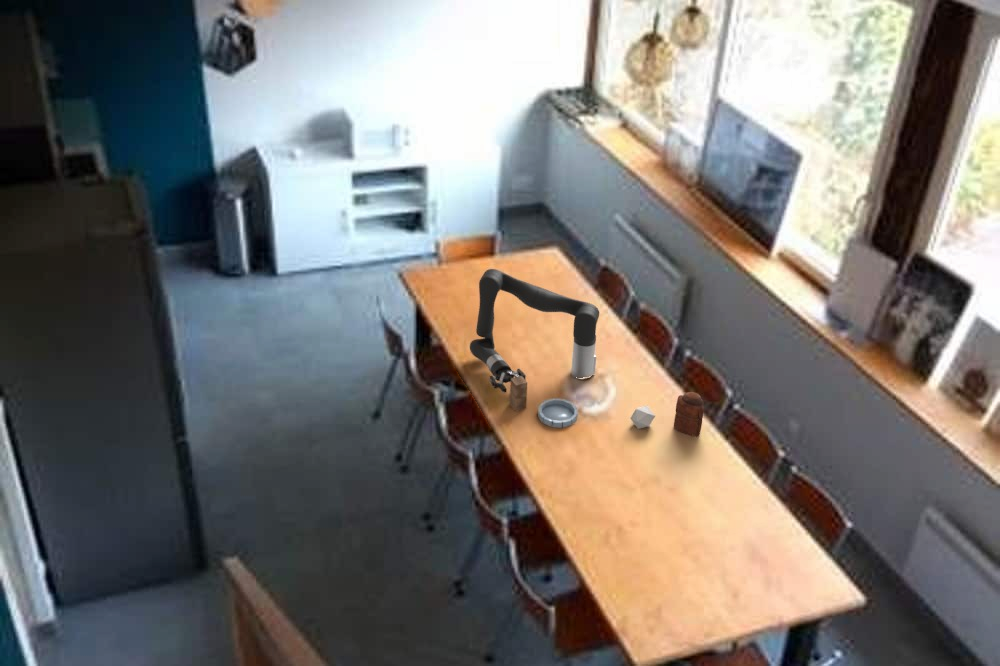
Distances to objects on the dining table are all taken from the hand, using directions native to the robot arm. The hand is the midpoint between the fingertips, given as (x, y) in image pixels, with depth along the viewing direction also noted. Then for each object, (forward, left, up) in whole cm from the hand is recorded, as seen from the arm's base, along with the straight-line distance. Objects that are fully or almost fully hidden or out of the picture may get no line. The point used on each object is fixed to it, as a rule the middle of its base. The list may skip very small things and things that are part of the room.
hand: (515, 388), depth 422 cm
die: (-40, +34, -7) cm, 53 cm away
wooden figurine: (-55, +44, -7) cm, 71 cm away
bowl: (-12, +15, -7) cm, 20 cm away
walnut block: (0, +3, -7) cm, 8 cm away
